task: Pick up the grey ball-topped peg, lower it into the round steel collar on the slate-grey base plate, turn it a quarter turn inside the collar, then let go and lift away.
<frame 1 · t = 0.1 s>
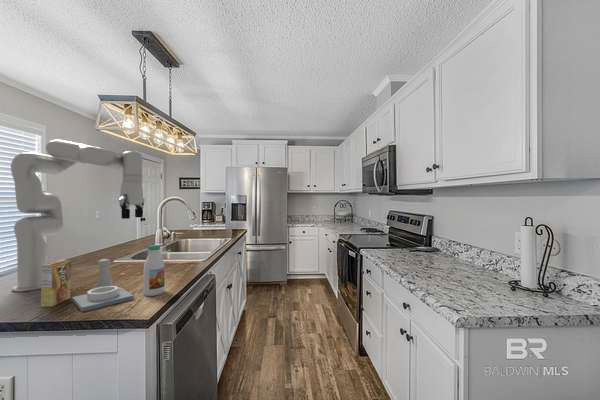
hand: (132, 217, 120), 31 cm above the countertop, tool pointing down, fingers open, 9 cm apart
collar plate: (103, 300, 104), on the countertop
candy box: (56, 303, 102), on the countertop
grey ball-topped peg: (104, 289, 117), on the countertop
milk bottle: (154, 293, 112), on the countertop
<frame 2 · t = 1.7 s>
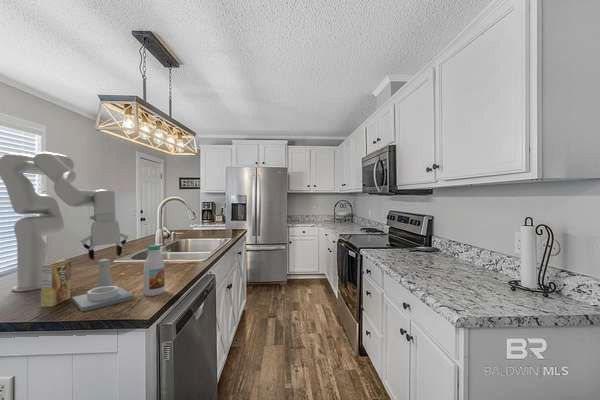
hand: (105, 257, 117), 14 cm above the countertop, tool pointing down, fingers open, 9 cm apart
nothing on the countertop moved.
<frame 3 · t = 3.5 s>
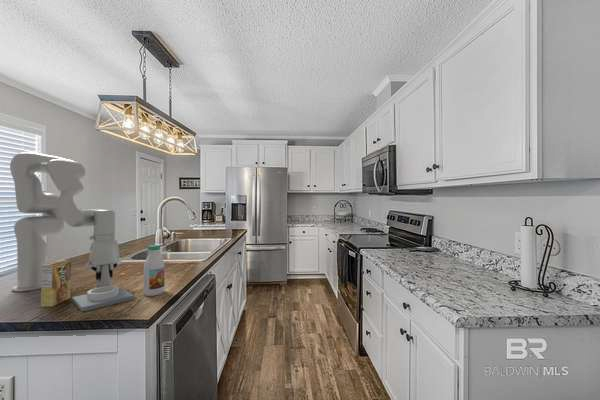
hand: (104, 279, 117), 4 cm above the countertop, tool pointing down, fingers closed on grey ball-topped peg, 3 cm apart
grey ball-topped peg: (104, 289, 117), on the countertop, touching gripper
everything else where it was.
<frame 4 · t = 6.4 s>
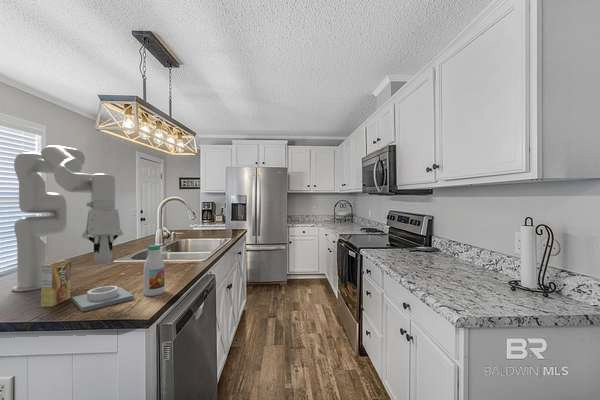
hand: (103, 252, 105), 18 cm above the countertop, tool pointing down, fingers closed on grey ball-topped peg, 3 cm apart
grey ball-topped peg: (103, 263, 105), point 14 cm above the countertop, touching gripper
everything else where it was.
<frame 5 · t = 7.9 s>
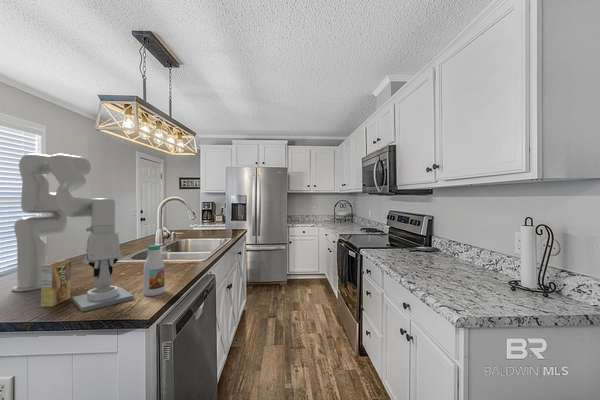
hand: (103, 276, 105), 9 cm above the countertop, tool pointing down, fingers closed on grey ball-topped peg, 3 cm apart
grey ball-topped peg: (103, 288, 104), point 5 cm above the countertop, touching gripper
everything else where it was.
when the fingers open (6 cm above the countertop, at t = 9.4 s): grey ball-topped peg stays where it is, resting on collar plate.
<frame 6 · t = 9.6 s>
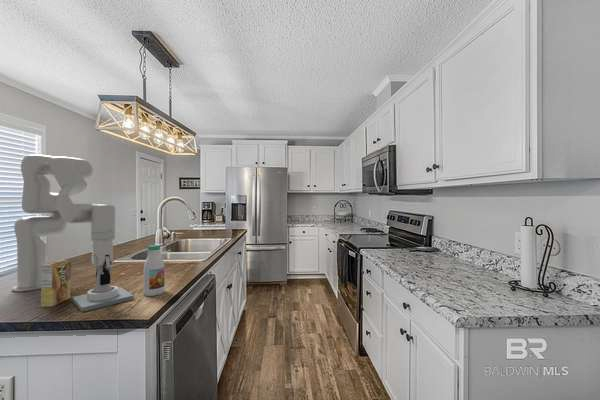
hand: (103, 282, 105), 7 cm above the countertop, tool pointing down, fingers open, 4 cm apart
grey ball-topped peg: (102, 296, 105), point 1 cm above the countertop, touching collar plate
everything else where it was.
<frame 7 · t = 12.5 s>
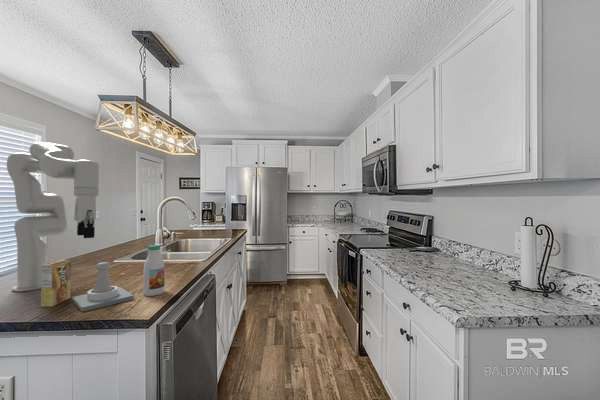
hand: (85, 236, 104), 25 cm above the countertop, tool pointing down, fingers open, 9 cm apart
nothing on the countertop moved.
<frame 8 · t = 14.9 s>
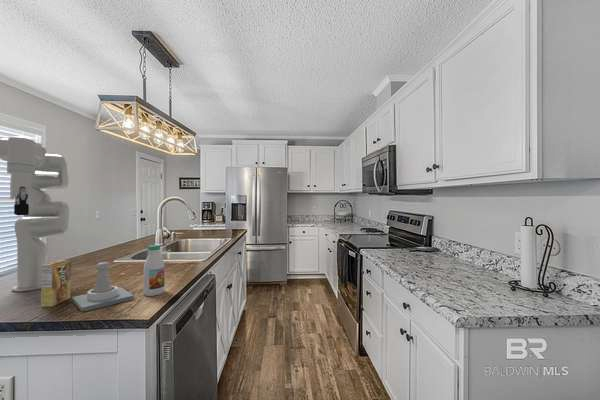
hand: (21, 214, 102), 33 cm above the countertop, tool pointing down, fingers open, 9 cm apart
nothing on the countertop moved.
at the end: grey ball-topped peg 0.2 cm off-centre on the collar plate, point 1.3 cm above the collar plate's base; grey ball-topped peg tilted 0°; the gripper is holding nothing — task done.
